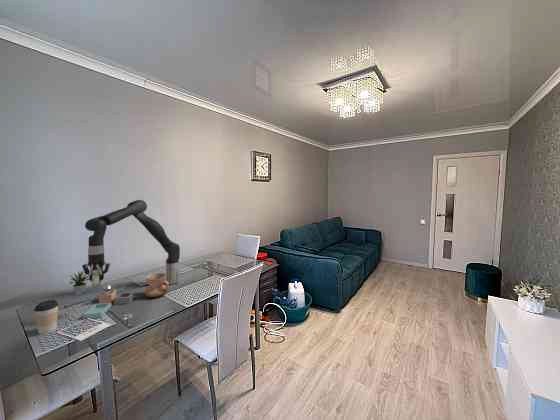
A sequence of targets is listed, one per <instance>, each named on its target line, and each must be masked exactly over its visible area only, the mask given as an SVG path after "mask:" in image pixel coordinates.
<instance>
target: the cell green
mask: <svg viewBox="0 0 560 420" xmlns="http://www.w3.org/2000/svg"><path fill="white" fill-rule="evenodd" d="M101 286H102V281H100V273H99V271H98V270H96V269H95V270H92V281H91V287H92V288H99V287H101Z"/></svg>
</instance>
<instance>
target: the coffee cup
mask: <svg viewBox="0 0 560 420" xmlns="http://www.w3.org/2000/svg"><path fill="white" fill-rule="evenodd" d="M59 305H60V304H59V302H58V301H56V299H52V300H50V299H49V300H45V301H42V302H39V303H38V304H37V305H36V306H35V307H34V308H33V312H34V317H35V324H36V328H37V333H38V334H39V335H44V334H49V333H52V332H54V331H55V330H57V326H58V317H59V315H58V314H59Z"/></svg>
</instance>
